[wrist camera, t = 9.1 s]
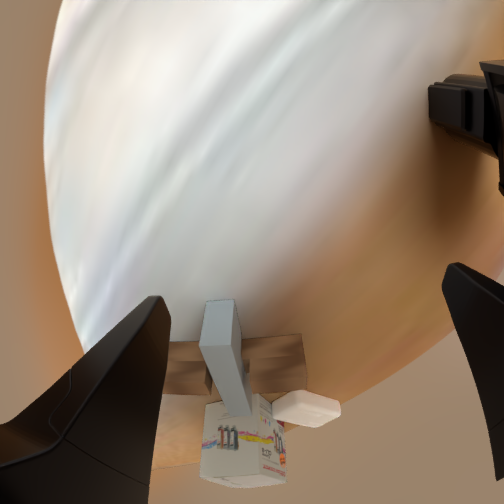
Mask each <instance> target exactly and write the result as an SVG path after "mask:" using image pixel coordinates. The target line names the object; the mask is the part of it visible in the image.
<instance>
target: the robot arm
mask: <svg viewBox="0 0 504 504" xmlns="http://www.w3.org/2000/svg"><path fill="white" fill-rule="evenodd" d="M479 64H480V67H481V70H482V71H483V73H484V76H476V75H465V74H453V75H451V76H449V77H447V78H446V79H445V80H444V81H443V82H442V83H441V82H435V83H434V85H430V86H429V87H428V91H429V118H430V120H431V121H433V122H435V124H436V125H438V126H441V127H444V129H445V131H446V132H447V133H448V135H449V136H450V137H451V138H453V139H454V140H456V141H458V142H460V143H462V144H465V145H467V146H470V147H472V148H474V149H476V150H479V151H481V152H483V153H485V154H487V155H489V156H491V157H494V158H496V159H498V160H499V177H500V182H499V191H500V192H501V194H502V195H503V196H504V60H494V61H482V62H479ZM442 292H443V294H444V297H445V300H446V303H447V305H448V308H449V311H450V314H451V317H452V320H453V323H454V326H455V329H456V331H457V334H458V336H459V339H460V341H461V344H462V346H463V349H464V352H465V354H466V357H467V360H468V362H469V365H470V368H471V371H472V374H473V377H474V380H475V383H476V386H477V390H478V393H479V397H480V400H481V404H482V407H483V411H484V415H485V419H486V423H487V428H488V431H489V432H488V433H489V438H490V443H491V449H492V454H493V461H494V468H495V477H496V480H497V481H498V480H500V479H502V478H504V286H503V285H501V284H499V283H497V282H496V281H494V280H492V279H490V278H488V277H487V276H485V275H483V274H481V273H479V272H477V271H475V270H473V269H471V268H470V267H468V266H466V265H464V264H462V263H460V262H456V263H450V264H449V265H448V266H447V269H446V272H445V275H444V279H443V282H442ZM170 329H171V317H170V314H169V311H168V309H167V306H166V304H165V301H164V299H163V298H162V296H149V297H147V298H146V299H145V300H144V301H142V302H141V303H140V304H139V305H138V306H137V307H136V308H135V309H134V310H132V311H131V312H130V313H129V314H128V315H127V316H126V317H125V318H124V319H123V320H121V321H120V322H119V323H118V324H117V325H116V326H115V327H114V328H113V329H112V330H110V331H109V332H108V333H107V334H106V335H105V336H104V337H103V338H102V339H101V340H100V341H99V342H98V343H96V344H95V345H94V346H93V347H92V348H91V349H90V350H89V351H88V352H87V353H86V354H85V355H84V356H83V357H82V358H81V359H80V360H79V361H77V362H76V363H75V364H74V365H73V366H72V368H71V369H69V370H68V371H67V372H66V373H65V374H64V375H63V376H62V377H61V378H60V379H59V380H58V381H56V382H55V383H54V384H53V385H52V386H51V387H50V388H49V389H48V390H47V391H45V392H44V393H43V394H42V395H41V396H40V397H39V398H37V399H36V400H35V401H34V402H33V403H31V404H30V405H29V406H28V407H27V408H26V409H24V410H23V411H22V412H21V413H19V415H17V416H16V417H15V418H13V419H12V420H10V421H9V422H7V423H4V424H0V504H148V495H149V484H150V475H151V467H152V459H153V451H154V444H155V437H156V430H157V423H158V417H159V411H160V405H161V399H162V393H163V387H164V382H165V376H166V371H167V364H168V352H169V340H170Z"/></svg>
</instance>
